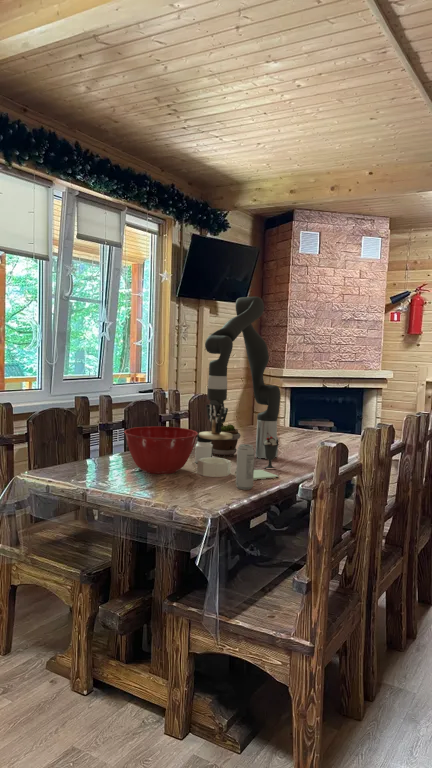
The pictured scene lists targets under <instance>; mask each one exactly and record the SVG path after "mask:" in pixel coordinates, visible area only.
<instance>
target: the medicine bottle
mask: <svg viewBox="0 0 432 768" xmlns="http://www.w3.org/2000/svg"><path fill="white" fill-rule="evenodd" d="M196 441H197V442H196V444H195V446H194V448H195V450H194V463H196V464H198V460H199V459H201V458H210V457H213V454H212V449H213V445H212V444H211V439H204V438H200V437H199V433H198V435H197V437H196Z"/></svg>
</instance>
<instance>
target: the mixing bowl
mask: <svg viewBox="0 0 432 768" xmlns="http://www.w3.org/2000/svg"><path fill="white" fill-rule="evenodd" d="M123 433H124V434H125V439H126V444H127V447H128V450H129V453H130V455H131V458H132V460H133V462H134V464H135V465H136V466H137V467H138V468H139V469H140V470H142V472H144V473H147V474H152V475H153V474H154V475H171V474H175V473H176V472H178V471H180V470H181V469H182V468H184V467H185V465H186V463H187V462H188V460H189V458H190V457H191V454H192V452H193V449H194V448H195V445H196V444H195V443H196V441H197V437H198V434H199V432H197V431H196V430H194V429H193V430H192V429H189V428H185V427H184V428H183V427H175V426H161V425H160V426H159V425H158V426H138V427H137V426H136V427H131V428H128V429H125V430H124V431H123Z"/></svg>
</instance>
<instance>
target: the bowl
mask: <svg viewBox="0 0 432 768" xmlns="http://www.w3.org/2000/svg"><path fill="white" fill-rule="evenodd" d="M231 462H232V460H229V459H226V458H223V457H215V456H214V457H213V456H212V457H210V458H201V459H199V460H198V463H197V468H196V469H197V470H196V473H197V474H198V475H201V476H203V477H211V478H212V477H213V478H220V477H222V478H223V477H228V476H229V475H230V474H231V467H232V466H231V465H232V463H231Z"/></svg>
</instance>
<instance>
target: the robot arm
mask: <svg viewBox="0 0 432 768" xmlns="http://www.w3.org/2000/svg"><path fill="white" fill-rule="evenodd" d="M264 310H265V305H264V302H263V299H262V298H261V297H259V296H242V297H238V298H237V299H236V301H235V313H236V316H233V317H232V318H230V319H228V321H227V322H226V323H224V325H223V326H222V327H221V328H220V329H218V330H216V331H214V332H212V333H210V335H208V337H207V338H206V340H205V342H204V348H205V350H206V352H207V353H209V354H212V355H219V357H218V358H217V359H213V360H211V361H210V362H209V364H208V380H207V397H206V398H207V400H209V404H206V405H205V408H206V409H205V410H206V415H207V420H209V422H210V430H211V431H212V419H216V426H215V432H216V433H221V424H222V423H223V424H224V423H225V422H226V420H227V419H226V418H227V414H228V411H229V408H228V407H225V402H224V401H227V399H228V377H227V376H228V365H229V361H230V358H231V355H232V351H233V345H234V342H235V340H236V339H237V338H238V337H239V336H240V334H241V333H242V336H243V341H244V345H245V350H246V357H247V361H248V363H249V369H250V374H251V378H252V380H251V381H252V386H253V387H252V389H253V396H254V400H255V402H256V403H257V404H258V405H261V406H263V405H264V406H267V408H266V409H265V410H264V411H262V412H259V413H257V417H256V438H255V454H254V457H255V456H256V457H255V458H257V457H258V458H257V459H261V458H265V459H264V460H268V459H267V458H266V455H265V446H264V445H263V443H265V441H266V440H267V438H270V436H272V437H273V438H274V439H275V440H276V441H277V440H278V441H279V437H278V435H277V433H278V417H279V413H280V403H281V389H280V388H279V386H278V385H274V384H266V383H265V381H264V380H265V379H264V373H265V370H266V368H267V365H268V363H269V359H270V357H269V351H268V347H267V342H266V341H265V340H264V338H263V337H262V335H260V334H259V333H258V332H257V330H256V329H255V327H254V326H253V323H254V322H255V321H256V320H257V321H258V319H259V318H261V316H263V313H264ZM218 417H219V418H218ZM222 417H223V418H222ZM267 433H269V434H267ZM278 453H279V445H278V446H277V451H276V456H275V457H277V458H278Z"/></svg>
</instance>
